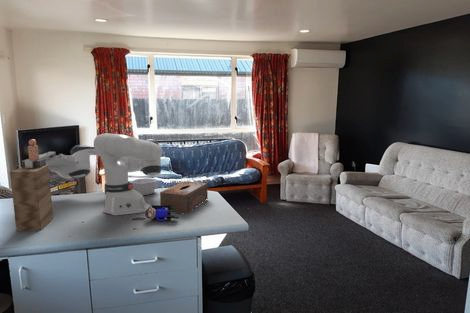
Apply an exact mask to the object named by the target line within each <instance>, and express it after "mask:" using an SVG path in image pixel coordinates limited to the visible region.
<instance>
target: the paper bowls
mask: <svg viewBox="0 0 470 313" xmlns="http://www.w3.org/2000/svg"><path fill="white" fill-rule="evenodd" d="M130 183H132V184H133V189H134V190H135V191H137V192H138V193H140V194H142V195H143V196H147V195H148V196H149V195H152V194H153V193H155V190H157V189H158V179H156V178H150V177H148V178H147V177H146V178H137V179H133V180H131V182H130Z"/></svg>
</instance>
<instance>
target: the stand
mask: <svg viewBox="0 0 470 313" xmlns="http://www.w3.org/2000/svg"><path fill="white" fill-rule="evenodd" d="M27 160H29V158H26V159H23V160H22V161H20V164H21V166H20V167H19V168H16V169H14V170H11V171H10V172H9V174H10V176H9V177H10V183H11V184H10V185H11V192H12V193H11V194H12V203H13V212H14V220H15V230H16V231H15V232H26V231H29V232H30V231H42V230H43V229H44V228H45V227H46V226H47V225H48V224H49V223H51V222H52V221H53V220H54V213H53V203H52V202H53V201H52V190H51V189H52V188H51V178H50V171H49V166H48V165H46V161H45V159H39V160H37V161H35V165H36V167H34V168H25V161H27Z"/></svg>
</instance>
